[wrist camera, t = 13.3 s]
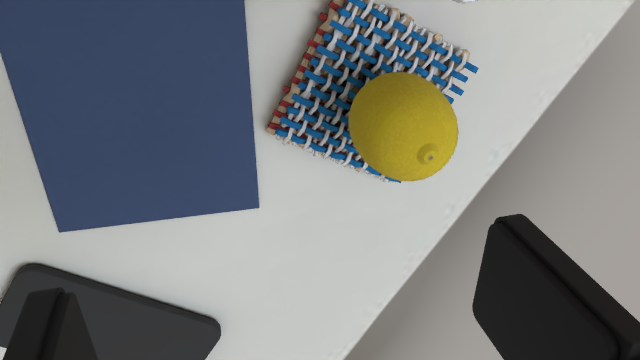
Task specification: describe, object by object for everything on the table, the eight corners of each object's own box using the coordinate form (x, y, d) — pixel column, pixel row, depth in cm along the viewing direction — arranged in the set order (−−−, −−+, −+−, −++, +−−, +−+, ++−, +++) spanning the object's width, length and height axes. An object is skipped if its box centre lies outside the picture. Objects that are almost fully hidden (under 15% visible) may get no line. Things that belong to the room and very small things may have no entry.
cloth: (-42, -83, 23) (-44, -83, 23) (237, -85, 25) (237, -85, 25) (59, 230, 32) (59, 232, 32) (258, 206, 34) (259, 207, 34)
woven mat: (336, -28, 28) (346, -23, 26) (471, 52, 32) (487, 60, 30) (258, 127, 31) (262, 140, 30) (389, 180, 36) (399, 194, 34)
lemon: (336, 57, 28) (382, 105, 21) (424, 55, 29) (495, 100, 23) (331, 143, 31) (371, 211, 24) (412, 138, 32) (472, 202, 25)
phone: (21, 264, 31) (227, 329, 38) (24, 257, 32) (226, 321, 39) (-20, 342, 33) (182, 391, 40) (-15, 333, 34) (182, 382, 41)
